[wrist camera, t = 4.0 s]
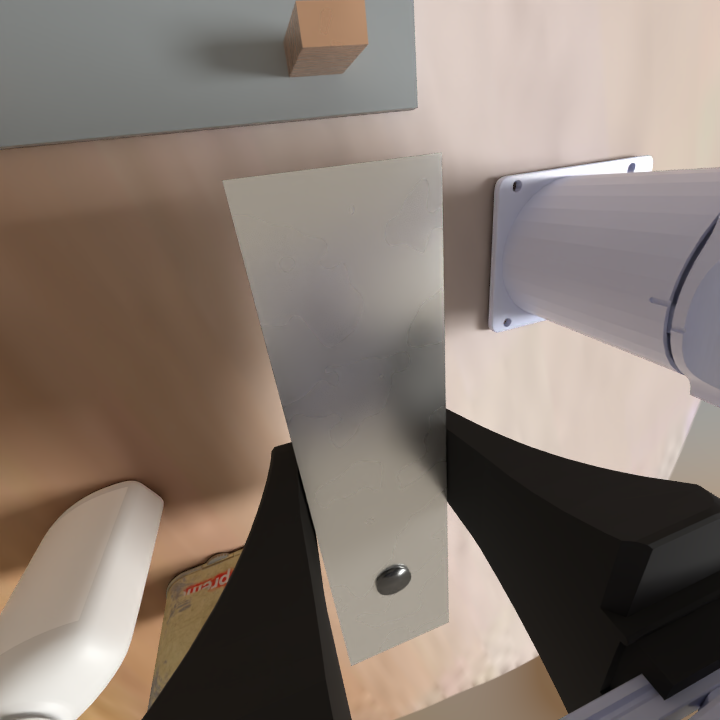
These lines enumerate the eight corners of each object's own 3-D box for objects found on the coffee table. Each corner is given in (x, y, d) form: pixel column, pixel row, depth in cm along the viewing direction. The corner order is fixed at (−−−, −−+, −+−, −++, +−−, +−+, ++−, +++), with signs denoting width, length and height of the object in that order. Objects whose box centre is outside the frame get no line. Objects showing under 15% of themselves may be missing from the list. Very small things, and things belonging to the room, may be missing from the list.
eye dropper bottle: (24, 497, 17) (-336, 1009, 6) (157, 471, 18) (50, 846, 8) (58, 560, 18) (-174, 1036, 8) (177, 532, 20) (112, 900, 9)
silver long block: (227, 186, 9) (221, 180, 6) (371, 166, 10) (444, 151, 7) (327, 567, 16) (352, 668, 13) (406, 537, 17) (450, 624, 14)
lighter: (181, 611, 22) (146, 872, 14) (154, 576, 21) (95, 850, 12) (290, 566, 24) (322, 778, 15) (274, 529, 22) (298, 746, 13)
